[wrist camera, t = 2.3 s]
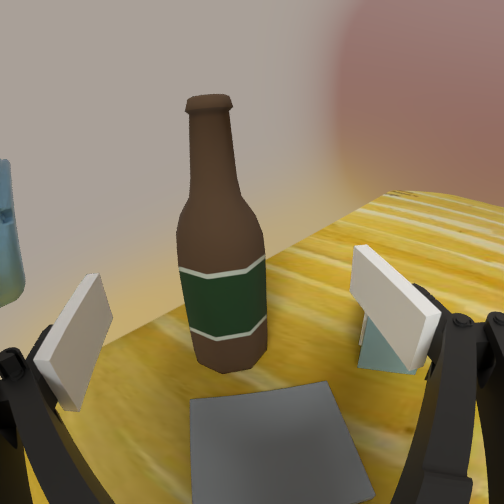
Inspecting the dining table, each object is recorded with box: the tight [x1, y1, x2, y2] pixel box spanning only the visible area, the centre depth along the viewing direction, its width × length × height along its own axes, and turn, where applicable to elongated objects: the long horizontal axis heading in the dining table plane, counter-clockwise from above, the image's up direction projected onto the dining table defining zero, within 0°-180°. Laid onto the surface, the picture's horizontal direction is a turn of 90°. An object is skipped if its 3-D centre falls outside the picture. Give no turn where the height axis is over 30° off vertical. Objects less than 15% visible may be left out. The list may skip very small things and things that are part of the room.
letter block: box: [358, 312, 417, 375], centre depth 28 cm, size 6×6×6 cm
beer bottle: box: [176, 94, 267, 374], centre depth 26 cm, size 8×8×24 cm
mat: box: [190, 381, 375, 504], centre depth 19 cm, size 12×12×1 cm
